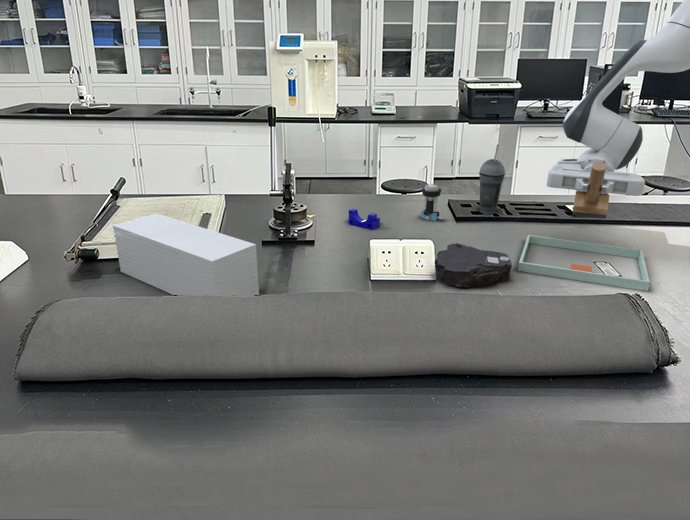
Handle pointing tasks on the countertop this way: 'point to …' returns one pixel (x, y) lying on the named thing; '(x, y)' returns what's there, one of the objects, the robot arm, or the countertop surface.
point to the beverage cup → (490, 184)
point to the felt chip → (581, 268)
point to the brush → (592, 195)
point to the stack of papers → (186, 257)
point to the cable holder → (369, 223)
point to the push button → (430, 202)
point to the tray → (584, 275)
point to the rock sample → (471, 266)
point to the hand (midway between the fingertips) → (594, 189)
